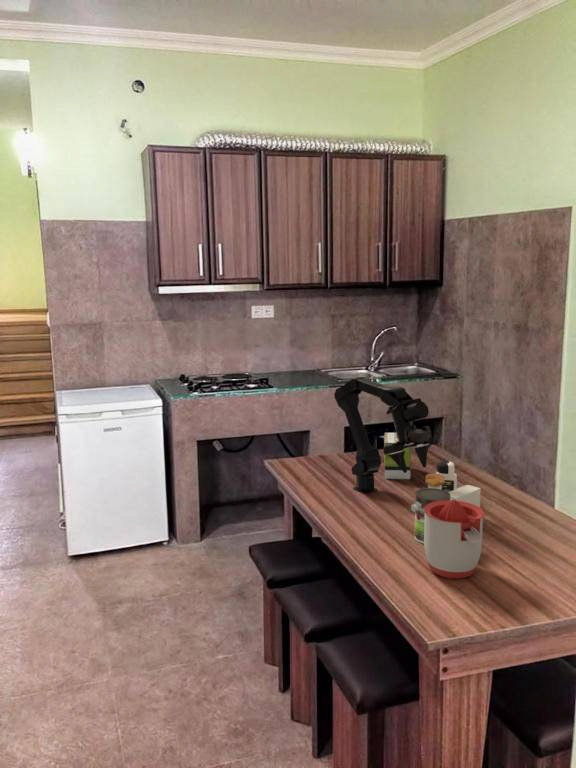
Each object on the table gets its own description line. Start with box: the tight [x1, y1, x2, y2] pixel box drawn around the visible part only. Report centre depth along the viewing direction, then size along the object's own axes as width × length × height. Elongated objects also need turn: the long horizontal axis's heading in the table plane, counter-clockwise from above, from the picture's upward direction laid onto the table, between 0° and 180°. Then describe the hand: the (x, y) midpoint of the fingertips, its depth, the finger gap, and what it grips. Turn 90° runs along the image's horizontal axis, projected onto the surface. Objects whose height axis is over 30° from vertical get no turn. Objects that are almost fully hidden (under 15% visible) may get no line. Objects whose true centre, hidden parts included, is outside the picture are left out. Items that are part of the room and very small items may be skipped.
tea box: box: [383, 432, 412, 480], centre depth 262 cm, size 15×10×15 cm, turn 172°
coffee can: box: [413, 487, 451, 545], centre depth 201 cm, size 10×10×14 cm
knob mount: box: [410, 484, 481, 513], centre depth 219 cm, size 19×13×10 cm
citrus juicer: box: [423, 500, 485, 580], centre depth 179 cm, size 16×17×20 cm
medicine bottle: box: [435, 460, 458, 492], centre depth 237 cm, size 7×7×12 cm
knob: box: [425, 473, 444, 490], centre depth 221 cm, size 6×6×10 cm
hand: (415, 469), depth 223 cm, fingers open, 9 cm apart
